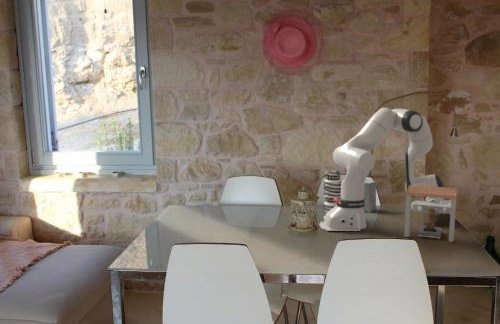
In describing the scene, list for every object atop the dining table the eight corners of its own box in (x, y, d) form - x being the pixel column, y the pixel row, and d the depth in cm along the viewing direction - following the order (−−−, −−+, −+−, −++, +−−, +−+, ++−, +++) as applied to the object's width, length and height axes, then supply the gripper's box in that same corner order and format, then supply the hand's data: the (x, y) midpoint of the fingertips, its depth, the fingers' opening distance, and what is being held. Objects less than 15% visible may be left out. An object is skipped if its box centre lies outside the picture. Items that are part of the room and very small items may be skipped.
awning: (407, 228, 257) (409, 184, 253) (454, 233, 249) (457, 188, 245) (404, 238, 243) (406, 192, 239) (453, 243, 235) (456, 195, 231)
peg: (427, 236, 245) (429, 211, 243) (424, 234, 248) (425, 209, 246) (435, 235, 246) (436, 210, 243) (431, 233, 249) (432, 208, 247)
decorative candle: (342, 220, 272) (343, 172, 267) (324, 220, 272) (324, 172, 267) (339, 215, 280) (340, 168, 276) (322, 215, 281) (322, 168, 276)
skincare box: (370, 212, 285) (370, 183, 282) (357, 210, 289) (358, 182, 286) (376, 209, 291) (377, 180, 288) (364, 207, 295) (365, 179, 293)
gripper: (412, 196, 272) (409, 202, 260) (455, 200, 265) (454, 206, 252) (411, 208, 273) (409, 215, 261) (454, 212, 266) (453, 219, 253)
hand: (431, 211), depth 256 cm, fingers open, 8 cm apart
